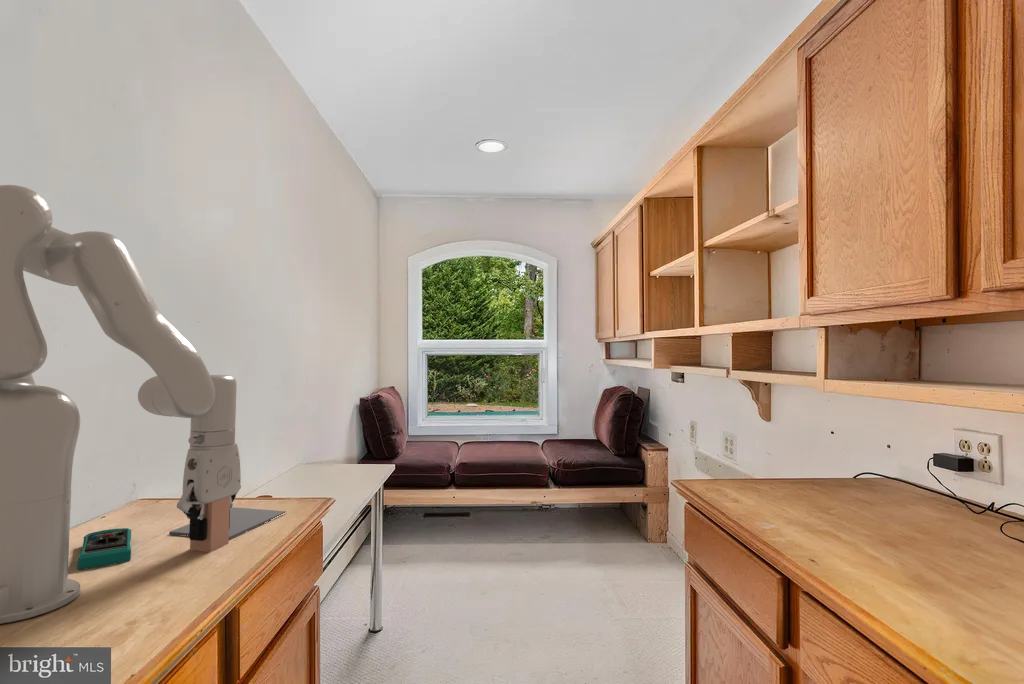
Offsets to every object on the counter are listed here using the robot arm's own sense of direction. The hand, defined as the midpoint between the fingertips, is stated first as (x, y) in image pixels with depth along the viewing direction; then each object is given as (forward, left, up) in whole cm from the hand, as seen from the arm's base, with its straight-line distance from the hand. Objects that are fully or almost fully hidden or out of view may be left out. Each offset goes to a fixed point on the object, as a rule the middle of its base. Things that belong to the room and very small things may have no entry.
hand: (209, 533), depth 99 cm
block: (0, 0, -3) cm, 3 cm away
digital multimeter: (-7, +16, -3) cm, 18 cm away
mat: (+13, +6, -2) cm, 15 cm away
